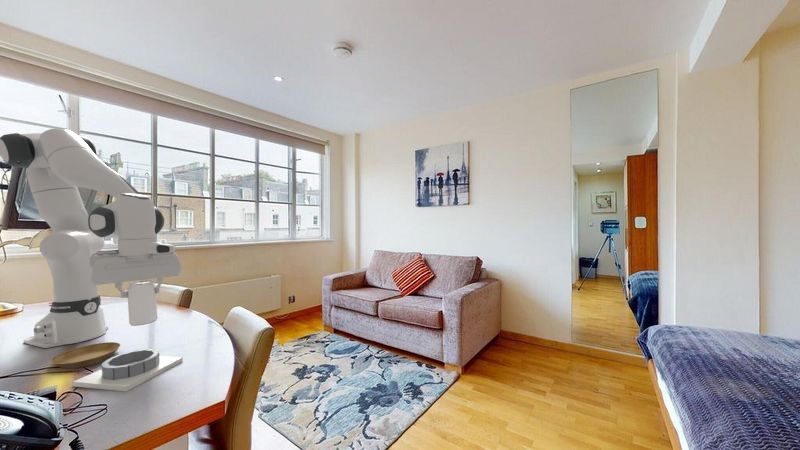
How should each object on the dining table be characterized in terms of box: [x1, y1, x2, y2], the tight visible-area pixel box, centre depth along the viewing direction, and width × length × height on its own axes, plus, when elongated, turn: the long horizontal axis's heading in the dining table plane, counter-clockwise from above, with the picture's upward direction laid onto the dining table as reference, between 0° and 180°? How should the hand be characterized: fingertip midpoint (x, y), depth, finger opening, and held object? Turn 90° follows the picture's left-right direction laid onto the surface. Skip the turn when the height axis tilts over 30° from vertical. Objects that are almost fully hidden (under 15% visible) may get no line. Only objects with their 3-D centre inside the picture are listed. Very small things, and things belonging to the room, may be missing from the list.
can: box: [127, 279, 158, 327], centre depth 92 cm, size 6×6×12 cm
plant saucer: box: [50, 341, 121, 369], centre depth 93 cm, size 15×15×3 cm
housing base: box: [72, 348, 184, 392], centre depth 84 cm, size 16×16×4 cm
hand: (141, 295), depth 91 cm, fingers closed on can, 6 cm apart
